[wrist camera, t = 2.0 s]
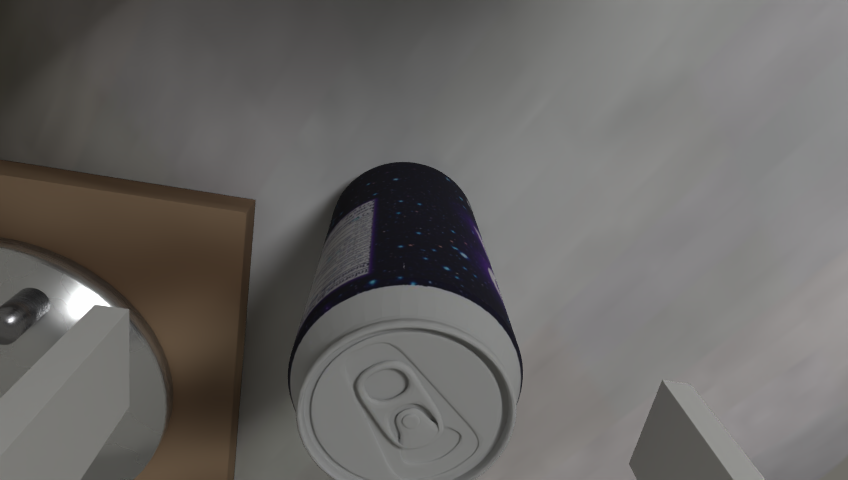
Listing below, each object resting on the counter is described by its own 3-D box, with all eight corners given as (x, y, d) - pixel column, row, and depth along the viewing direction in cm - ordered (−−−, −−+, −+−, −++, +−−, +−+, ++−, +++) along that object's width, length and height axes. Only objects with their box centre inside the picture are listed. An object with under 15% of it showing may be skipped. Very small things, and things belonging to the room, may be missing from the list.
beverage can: (376, 305, 25) (359, 544, 14) (307, 196, 23) (224, 378, 12) (494, 248, 24) (572, 456, 13) (433, 130, 22) (466, 261, 11)
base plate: (-242, 121, 21) (-286, 130, 20) (255, 200, 23) (246, 212, 22) (-149, 487, 28) (-178, 513, 27) (230, 525, 30) (222, 550, 29)
